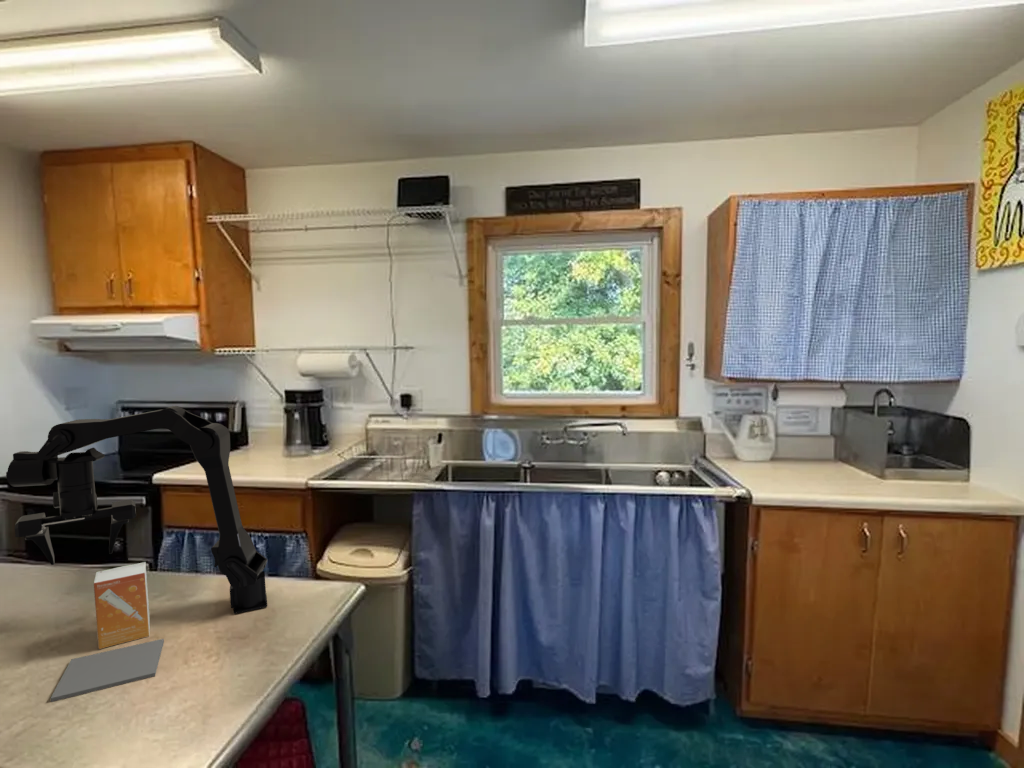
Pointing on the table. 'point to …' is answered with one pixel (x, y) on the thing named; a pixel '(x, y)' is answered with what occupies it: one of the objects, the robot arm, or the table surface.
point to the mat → (109, 669)
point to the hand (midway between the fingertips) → (82, 558)
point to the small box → (121, 604)
